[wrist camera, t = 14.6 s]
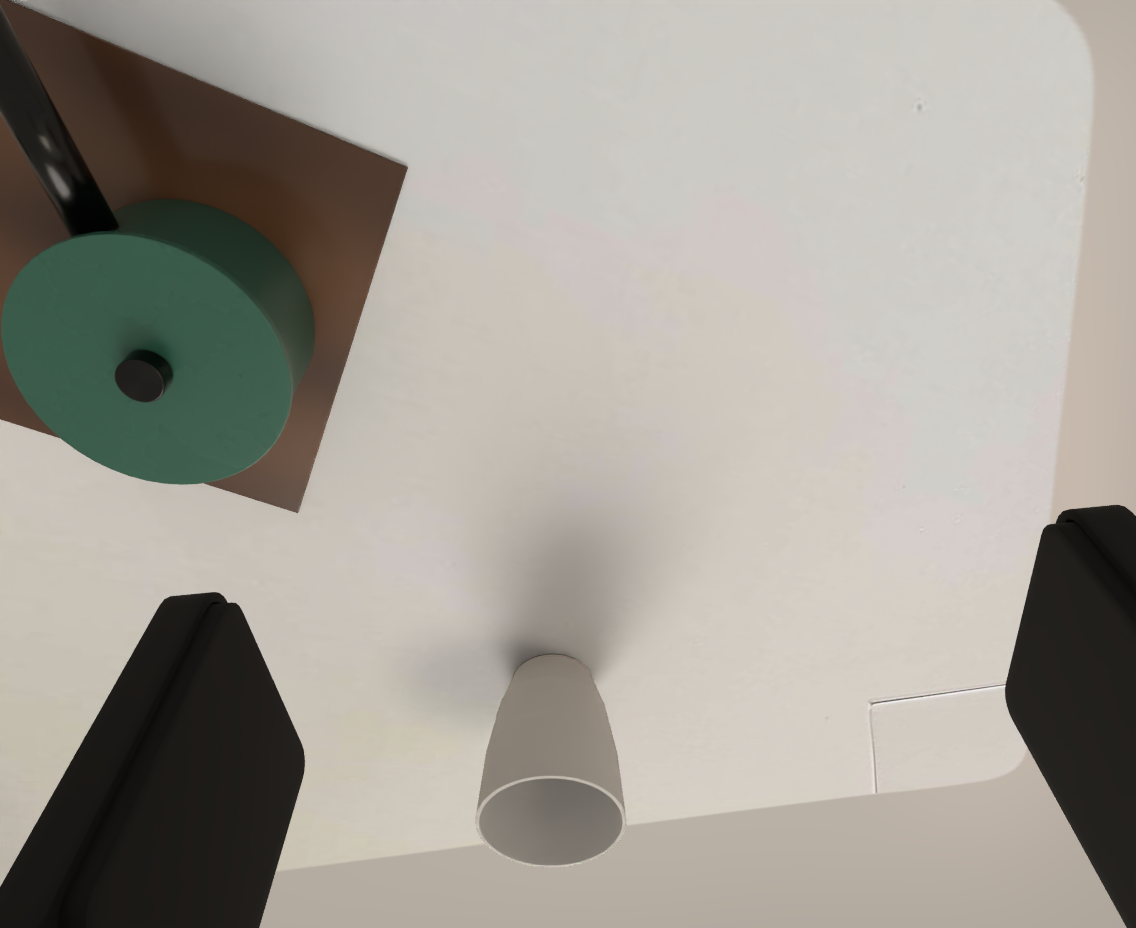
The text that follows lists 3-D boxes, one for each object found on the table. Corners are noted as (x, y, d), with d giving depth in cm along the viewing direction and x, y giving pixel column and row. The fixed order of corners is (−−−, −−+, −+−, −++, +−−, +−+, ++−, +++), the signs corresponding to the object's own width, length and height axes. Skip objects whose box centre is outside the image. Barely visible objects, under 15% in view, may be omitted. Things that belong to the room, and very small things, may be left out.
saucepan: (146, 442, 44) (87, 520, 39) (-115, 14, 33) (-249, 38, 28) (358, 395, 43) (328, 468, 37) (157, -69, 32) (73, -62, 26)
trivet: (-43, -23, 33) (-47, -22, 33) (408, 166, 37) (407, 168, 37) (-56, 398, 43) (-60, 400, 43) (299, 510, 47) (297, 513, 47)
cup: (501, 730, 57) (491, 873, 48) (477, 643, 52) (461, 784, 44) (622, 717, 56) (633, 860, 48) (608, 629, 52) (617, 769, 43)
